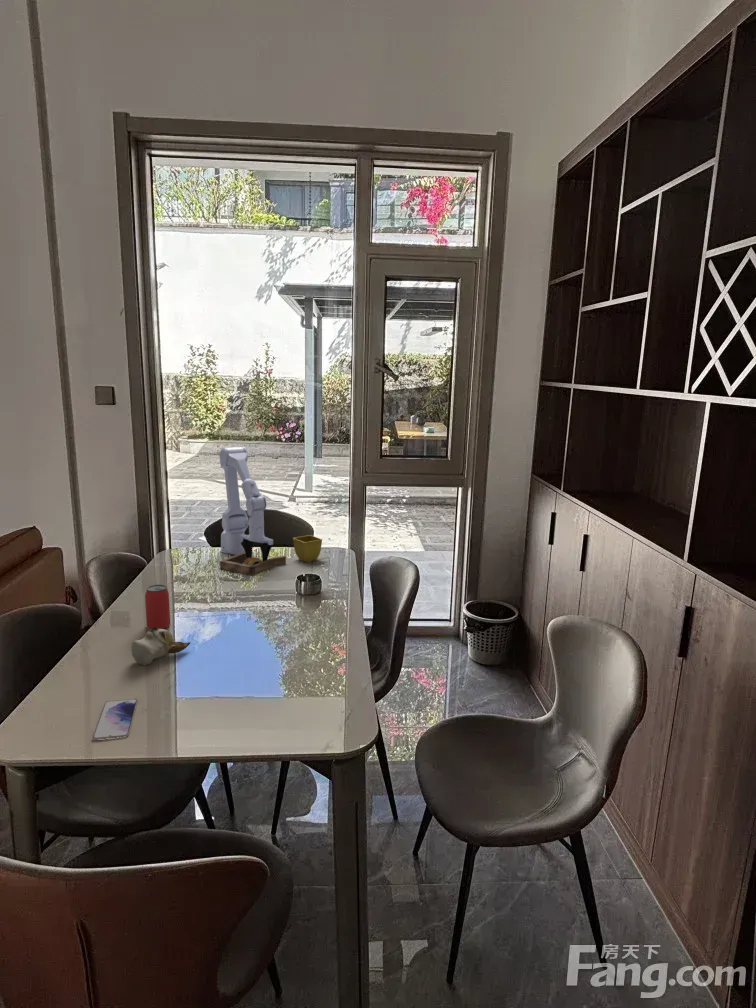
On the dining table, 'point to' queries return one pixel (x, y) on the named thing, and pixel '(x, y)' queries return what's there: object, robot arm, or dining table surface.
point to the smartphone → (115, 719)
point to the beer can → (157, 607)
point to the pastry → (252, 561)
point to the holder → (235, 565)
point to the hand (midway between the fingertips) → (257, 559)
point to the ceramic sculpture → (155, 646)
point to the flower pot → (307, 547)
